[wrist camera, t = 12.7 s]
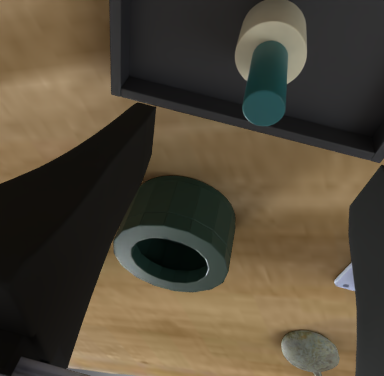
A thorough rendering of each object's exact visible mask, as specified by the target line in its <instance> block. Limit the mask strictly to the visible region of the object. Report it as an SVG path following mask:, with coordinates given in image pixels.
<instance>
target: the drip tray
mask: <svg viewBox="0 0 384 376" xmlns="http://www.w3.org/2000/svg"><path fill="white" fill-rule="evenodd" d="M262 1H264V0H109V3H110V57H111V94H112V95H115V96H119V97H124V98H128V99H131V100H135V101H139V102H143V103H147V104H151V105H155V106H159V107H163V108H167V109H171V110H174V111H178V112H182V113H186V114H190V115H194V116H198V117H202V118H206V119H210V120H214V121H218V122H221V123H225V124H229V125H233V126H237V127H241V128H245V129H249V130H253V131H257V132H261V133H265V134H268V135H272V136H276V137H280V138H284V139H288V140H292V141H296V142H300V143H304V144H308V145H311V146H315V147H319V148H323V149H327V150H331V151H335V152H339V153H343V154H347V155H351V156H355V157H358V158H362V159H366V160H371V161H374V162H378V163H380V162H381V161H382V160H383V159H384V0H288V1H290V2H292V3H294V4H295V5H296V6H297V7H298V8H299V9H300V10H301V11H302V13H303V15H304V18H305V21H306V35H307V58H306V62H305V65H304V67H303V69H302V71H301V72H300V74H299V75H298V76H297V77H296V78H295V79H294V80H292V81H291V82H290V83H288V84H287V91H286V110H285V113H284V115H283V117H282V118H281V119H280V120H279V121H278V122H277V123H275V124H273V125H270V126H258V125H255V124H253V123H251V122H249V121H248V120H247V119H246V117H245V116H244V114H243V110H242V105H243V100H244V95H245V90H246V85H247V81H246V80H245V79H244V78H243V77H242V76H241V74H240V73H239V71H238V69H237V66H236V63H235V50H236V46H237V42H238V39H239V35H240V31H241V27H242V24H243V21H244V19H245V17H246V15H247V13H248V12H249V11H250V10H251V9H252V8H253V7H254V6H255V5H257V4H258V3H260V2H262Z"/></svg>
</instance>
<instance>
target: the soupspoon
mask: <svg viewBox="0 0 384 376" xmlns="http://www.w3.org/2000/svg"><path fill="white" fill-rule="evenodd" d="M281 347H282V352H283V354H284V356H285V358H286V359H287V360H288V361H289V362H290V363H291V364H292V365H294V366H296V367H298V368H300V369H302V370H305V371H309V372H313V373H314V376H322V374H321V372H323V371H327V370H330V369H332V368H334V367H336V366H337V365H338V363H339V354H338V351H337V349H336V346H335V345H334V344H333V343H332V342H330V341H329V340H328V339H327V338H325V337H324V336H322V335H320V334H318V333H314V332H312V331H308V330H299V331H293V332H290V333H288V334H286V335H285V337H284V338H283V340H282V346H281Z"/></svg>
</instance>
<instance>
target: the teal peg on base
mask: <svg viewBox="0 0 384 376" xmlns="http://www.w3.org/2000/svg"><path fill="white" fill-rule="evenodd" d="M306 58H307V35H306V21H305V18H304V15H303V13H302V11H301V10H300V9H299V8H298V7H297V6H296V5H295V4H294V3H292V2H290V1H288V0H264V1H262V2H260V3H258V4H257V5H255V6H254V7H253V8H252V9H251V10H250V11H249V12H248V13H247V15H246V17H245V19H244V21H243V24H242V27H241V31H240V35H239V39H238V42H237V46H236V50H235V63H236V66H237V69H238V71H239V73H240V74H241V76H242V77H243V78H244V79H245V80H246V81H247V85H246V90H245V95H244V100H243V105H242V110H243V114H244V116H245V117H246V119H247V120H248V121H249V122H251V123H253V124H255V125H258V126H270V125H273V124H275V123H277V122H278V121H279V120H280V119H281V118H282V117H283V115H284V113H285V110H286V91H287V84H288V83H290V82H291V81H292V80H294V79H295V78H296V77H297V76H298V75H299V74H300V72H301V71H302V69H303V67H304V65H305V62H306Z"/></svg>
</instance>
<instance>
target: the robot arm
mask: <svg viewBox="0 0 384 376" xmlns="http://www.w3.org/2000/svg"><path fill="white" fill-rule="evenodd" d="M155 113H156V107H154V106H150V105H146V104H142V103H138V102H137V103H136V104H134V105H133V106H131V107H130V108H129V109H128V110H126V111H125V112H124V113H123V114H121V115H120V116H119V117H118V118H116V119H115V120H114V121H112V122H111V123H110V124H109V125H107V126H106V127H104V128H103V129H102V130H100V131H99V132H98V133H96V134H95V135H93V136H92V137H90V138H89V139H87V140H86V141H84V142H83V143H81V144H80V145H78V146H77V147H75V148H73V149H72V150H70V151H69V152H67V153H65V154H63V155H62V156H60V157H58V158H56V159H55V160H53V161H51V162H49V163H47V164H45V165H43V166H41V167H39V168H37V169H35V170H32V171H30V172H28V173H25V174H23V175H21V176H18V177H16V178H14V179H11V180H9V181H7V182H4V183H1V184H0V376H89V375H85V374H82V373H78V372H75V371H71V370H68V369H66V368H68V365H69V361H70V358H71V355H72V352H73V349H74V346H75V343H76V340H77V337H78V334H79V331H80V328H81V325H82V322H83V319H84V316H85V313H86V311H87V308H88V305H89V302H90V299H91V296H92V293H93V291H94V288H95V285H96V283H97V280H98V277H99V274H100V272H101V269H102V266H103V264H104V261H105V258H106V256H107V253H108V250H109V248H110V245H111V243H112V241H113V238H114V236H115V234H116V232H117V230H118V228H119V226H120V224H121V222H122V220H123V218H124V216H125V214H126V212H127V210H128V208H129V206H130V204H131V202H132V200H133V198H134V196H135V194H136V192H137V190H138V188H139V186H140V184H141V182H142V180H143V178H144V175H145V172H146V169H147V167H148V164H149V161H150V158H151V155H152V145H153V134H154V124H155ZM349 244H350V253H351V261H352V262H351V263H350V265H349V266H348V267H347V268H346V269H345V270H344V271H343V272H342V273H341V274H340V275H339V276H338V277H337V278H336V279H335V285H336V286H338V287H342V288H345V289H349V290H353V291H355V294H356V306H357V351H356V375H355V376H384V165H381V166H380V168H379V169H378V170H377V171H376V173H375V174H374V175H373V177H372V178H371V179H370V181H369V182H368V183H367V184H366V186H365V187H364V188H363V190H362V191H361V192H360V193H359V195H358V196H357V197H356V199H355V200H354V201H353V203H352V204H351V205H350V209H349Z"/></svg>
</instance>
